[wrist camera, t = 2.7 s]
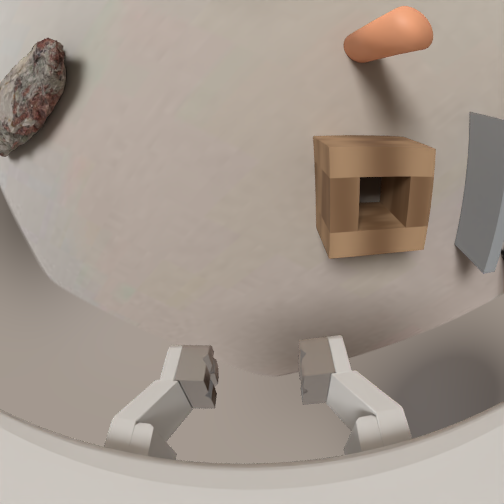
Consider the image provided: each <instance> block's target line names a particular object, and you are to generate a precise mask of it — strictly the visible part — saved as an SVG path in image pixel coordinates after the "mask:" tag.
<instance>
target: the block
mask: <svg viewBox="0 0 504 504" xmlns="http://www.w3.org/2000/svg"><path fill="white" fill-rule="evenodd" d="M313 142H314V161H315V187H316V228H317V230H318V233H319V235H320V237H321V240H322V242H323V245H324V247H325V249H326V252H327V254H328V257H329V259H332V258H342V257H353V256H364V255H374V254H385V253H395V252H405V251H415V250H424V244H425V239H426V233H427V227H428V221H429V214H430V207H431V199H432V190H433V180H434V168H435V152H436V149H434V148H432V147H429V146H427V145H424V144H421V143H419V142H416V141H413V140H411V139H408V138H405V137H398V136H363V135H345V136H313ZM360 177H381V195H380V202H369V203H359V193H360Z"/></svg>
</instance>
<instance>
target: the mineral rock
mask: <svg viewBox="0 0 504 504" xmlns="http://www.w3.org/2000/svg"><path fill="white" fill-rule="evenodd" d="M62 48H63V45H61V43H59V42H57V41H55V40H52V39H49V38H47V39H44V40H42V41H40V42H37V43H36V44H35V45H34V46H33V48H32V51H30V52H29V53H28V54H27V56H26V57H24V58H23V59H21V60H20V61H19V63H18V64H17V65H15V66H14V67H13V68H12V69H11V71H10V73H8V74H7V75H6V77H5V78H4V79H3V80H2V81H1V82H0V155H1V156H3V157H6V156H8V155H9V154H10V152H11V151H13V150H15V149H16V148H17V147H18V146H19V145H23V144H24V143H26V141H27V140H29V139H31V137H32V136H33V135H34V134H36V133H37V131H38V130H39V129H41V128H42V127H43V126H44V123H45V120H46V118H47V116H48V115H50V113H51V112H52V111H53V108H54V106H55V105H56V104H57V101H58V100H59V99H60V97H61V95H62V94H63V90H64V86H65V79H66V69H65V66H64V59H65V53H64V52H63V50H62Z"/></svg>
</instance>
